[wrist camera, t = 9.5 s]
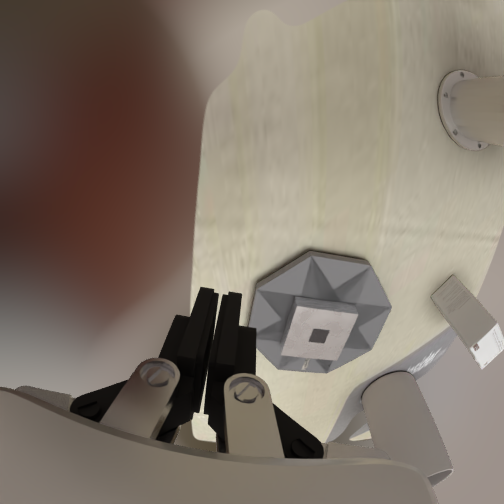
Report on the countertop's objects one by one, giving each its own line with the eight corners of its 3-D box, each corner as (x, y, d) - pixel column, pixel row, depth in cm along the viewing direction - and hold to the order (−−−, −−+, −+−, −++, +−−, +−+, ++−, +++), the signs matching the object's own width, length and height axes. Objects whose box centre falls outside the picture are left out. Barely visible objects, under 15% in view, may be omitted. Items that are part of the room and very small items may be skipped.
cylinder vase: (354, 387, 51) (382, 495, 28) (410, 360, 48) (456, 461, 25) (367, 413, 55) (391, 504, 32) (416, 390, 53) (451, 477, 30)
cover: (353, 304, 40) (358, 314, 38) (334, 350, 43) (337, 361, 41) (295, 295, 39) (296, 306, 37) (279, 344, 43) (280, 355, 41)
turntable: (402, 266, 39) (406, 271, 38) (356, 368, 47) (358, 374, 46) (264, 243, 38) (264, 247, 37) (241, 358, 47) (240, 364, 45)
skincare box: (466, 298, 42) (508, 345, 29) (444, 319, 44) (482, 372, 31) (451, 272, 40) (500, 321, 27) (427, 296, 42) (470, 351, 29)
